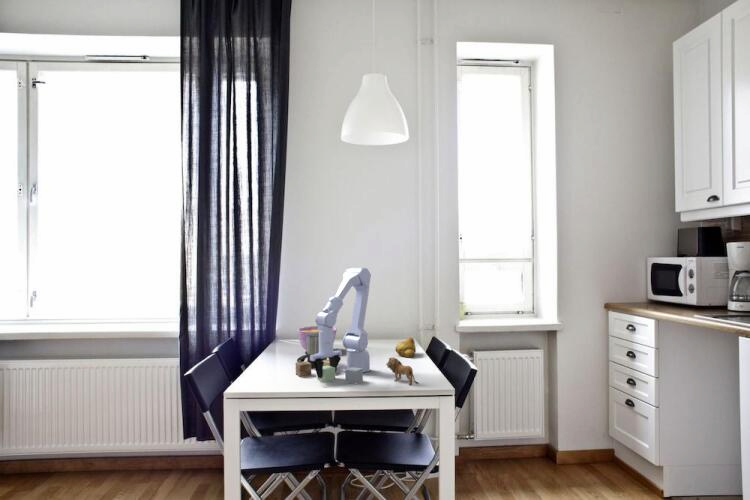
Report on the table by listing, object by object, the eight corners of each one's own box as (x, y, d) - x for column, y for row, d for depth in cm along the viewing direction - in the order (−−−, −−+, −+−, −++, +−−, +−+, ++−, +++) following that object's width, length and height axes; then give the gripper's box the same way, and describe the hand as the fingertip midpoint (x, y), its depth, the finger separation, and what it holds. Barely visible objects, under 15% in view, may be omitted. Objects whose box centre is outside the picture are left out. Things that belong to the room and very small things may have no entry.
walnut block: (307, 373, 219) (306, 361, 219) (311, 375, 215) (311, 363, 215) (295, 374, 217) (295, 362, 217) (299, 377, 212) (299, 365, 212)
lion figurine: (384, 380, 206) (384, 357, 206) (392, 377, 210) (392, 355, 210) (414, 386, 196) (414, 362, 196) (422, 383, 201) (422, 360, 200)
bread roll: (417, 358, 247) (417, 341, 247) (397, 358, 246) (397, 341, 246) (413, 352, 260) (413, 336, 260) (394, 353, 259) (394, 337, 259)
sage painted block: (327, 377, 211) (327, 365, 211) (335, 380, 208) (335, 367, 208) (317, 380, 208) (317, 367, 208) (325, 382, 204) (325, 369, 204)
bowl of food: (292, 350, 269) (292, 327, 269) (329, 346, 277) (329, 325, 277) (304, 357, 251) (304, 333, 251) (342, 353, 259) (342, 330, 259)
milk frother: (323, 369, 225) (323, 335, 225) (289, 368, 228) (289, 334, 228) (333, 362, 239) (332, 330, 239) (300, 361, 242) (300, 329, 242)
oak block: (328, 370, 223) (328, 359, 223) (336, 372, 220) (336, 360, 220) (320, 373, 219) (320, 361, 219) (328, 374, 216) (328, 362, 216)
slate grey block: (351, 379, 208) (351, 367, 208) (362, 381, 206) (362, 368, 205) (345, 382, 203) (345, 369, 203) (356, 384, 201) (356, 371, 201)
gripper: (334, 338, 215) (334, 371, 216) (305, 343, 206) (305, 377, 206) (345, 340, 210) (345, 374, 210) (315, 345, 200) (316, 380, 201)
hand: (326, 376), depth 208 cm, fingers open, 6 cm apart
